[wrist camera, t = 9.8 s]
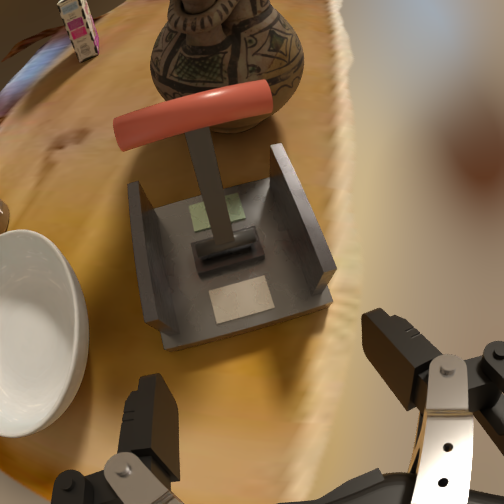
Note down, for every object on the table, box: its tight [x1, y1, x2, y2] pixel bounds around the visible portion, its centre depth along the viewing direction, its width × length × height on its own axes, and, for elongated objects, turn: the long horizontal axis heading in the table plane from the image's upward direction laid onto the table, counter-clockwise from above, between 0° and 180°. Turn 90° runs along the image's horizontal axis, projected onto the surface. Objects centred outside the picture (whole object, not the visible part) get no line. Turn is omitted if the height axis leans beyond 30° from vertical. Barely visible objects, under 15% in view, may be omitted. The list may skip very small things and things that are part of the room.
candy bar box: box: [57, 0, 99, 62], centre depth 45 cm, size 11×5×16 cm, turn 22°
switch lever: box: [113, 79, 273, 258], centre depth 22 cm, size 2×10×13 cm, turn 106°
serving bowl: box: [0, 230, 89, 438], centre depth 24 cm, size 21×21×7 cm
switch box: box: [127, 143, 337, 352], centre depth 27 cm, size 14×15×8 cm
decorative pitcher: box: [150, 0, 304, 133], centre depth 28 cm, size 22×18×25 cm
